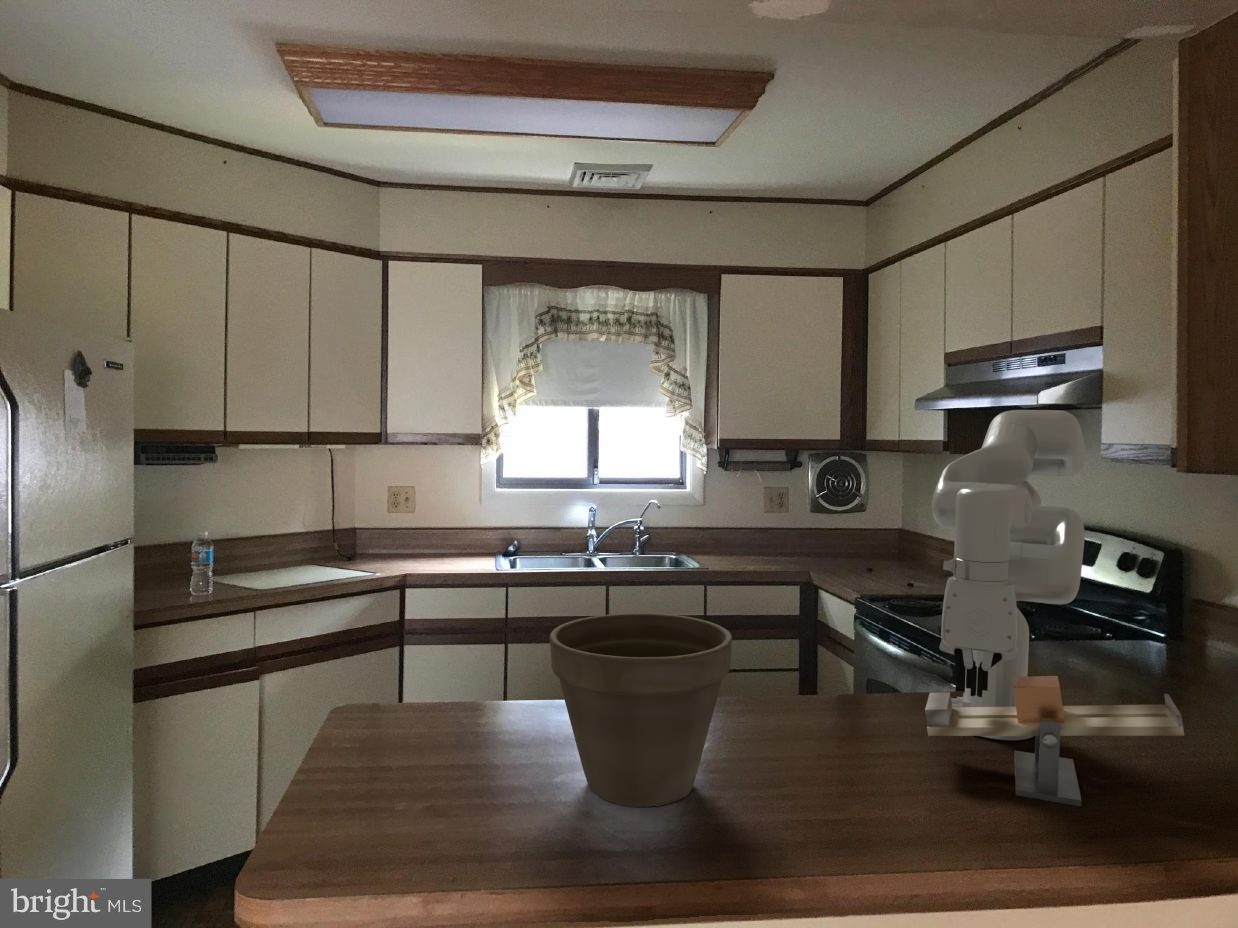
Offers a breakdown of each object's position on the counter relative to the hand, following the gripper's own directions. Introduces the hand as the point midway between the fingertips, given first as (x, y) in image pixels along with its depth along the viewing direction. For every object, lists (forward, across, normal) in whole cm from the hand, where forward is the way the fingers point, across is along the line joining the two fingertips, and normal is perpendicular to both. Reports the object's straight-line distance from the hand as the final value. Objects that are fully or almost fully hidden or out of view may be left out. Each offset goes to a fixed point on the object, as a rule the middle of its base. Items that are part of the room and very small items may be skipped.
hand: (976, 693), depth 129 cm
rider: (+3, +9, 0) cm, 9 cm away
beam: (+3, +10, 0) cm, 10 cm away
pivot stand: (+11, +10, 0) cm, 15 cm away
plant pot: (+11, -42, -28) cm, 52 cm away
